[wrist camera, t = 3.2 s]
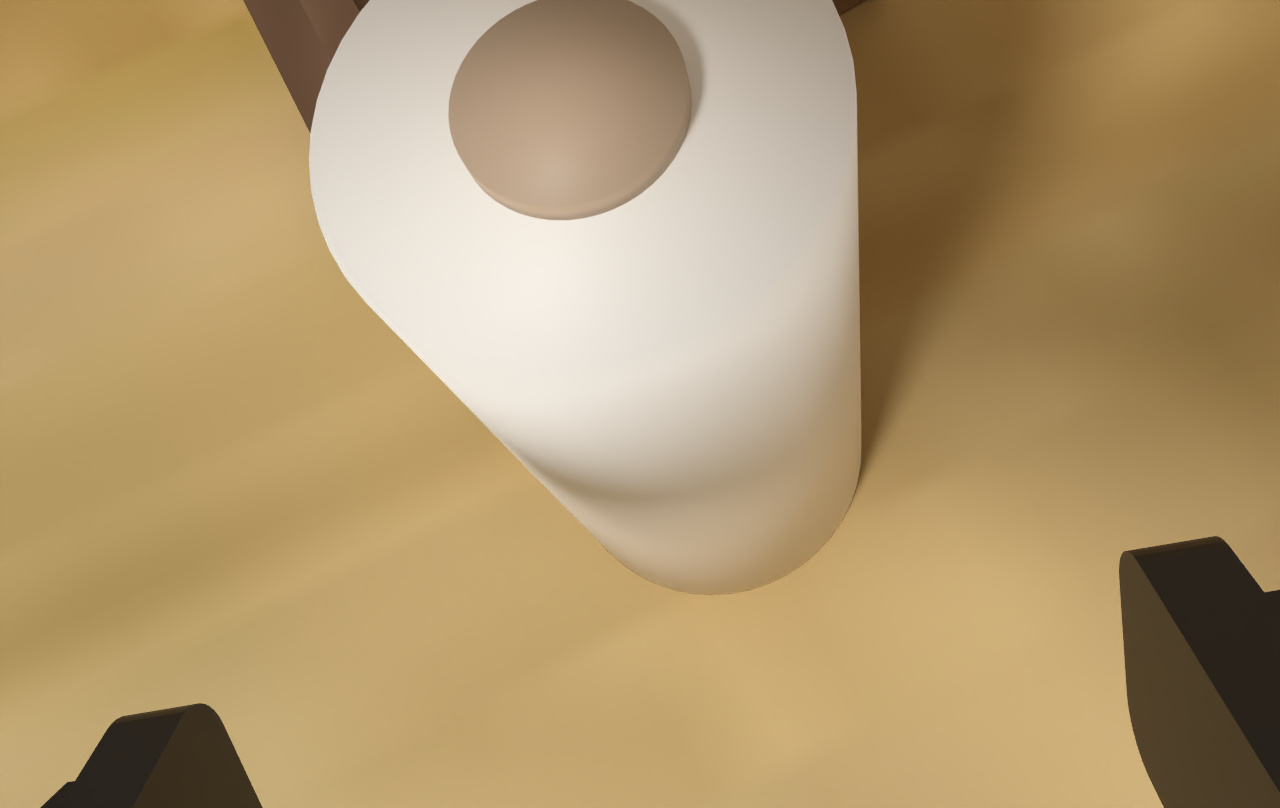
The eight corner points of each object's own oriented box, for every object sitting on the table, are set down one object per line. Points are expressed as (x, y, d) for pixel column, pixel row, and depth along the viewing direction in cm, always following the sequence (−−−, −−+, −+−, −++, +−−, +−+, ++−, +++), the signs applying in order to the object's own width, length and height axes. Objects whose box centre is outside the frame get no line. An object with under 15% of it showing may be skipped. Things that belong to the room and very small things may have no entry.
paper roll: (654, 650, 22) (432, 474, 11) (524, 404, 24) (220, 36, 13) (919, 498, 22) (974, 165, 11) (766, 264, 24) (678, -224, 13)
